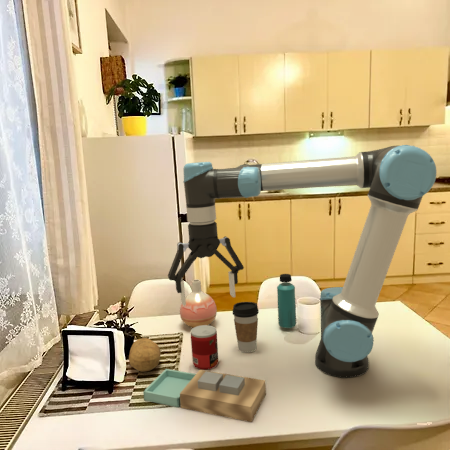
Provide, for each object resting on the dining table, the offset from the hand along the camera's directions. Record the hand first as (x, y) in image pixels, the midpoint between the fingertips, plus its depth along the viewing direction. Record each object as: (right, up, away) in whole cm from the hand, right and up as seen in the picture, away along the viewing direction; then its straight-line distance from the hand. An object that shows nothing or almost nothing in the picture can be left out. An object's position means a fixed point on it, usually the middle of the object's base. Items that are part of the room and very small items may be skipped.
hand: (208, 299), depth 112 cm
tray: (-10, -25, +2) cm, 27 cm away
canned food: (-1, -23, +15) cm, 27 cm away
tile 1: (+1, -22, -3) cm, 22 cm away
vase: (-5, -18, +43) cm, 47 cm away
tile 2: (+6, -22, -6) cm, 23 cm away
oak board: (+4, -26, -4) cm, 26 cm away
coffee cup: (+12, -20, +24) cm, 33 cm away
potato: (-20, -24, +15) cm, 34 cm away
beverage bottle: (+27, -17, +37) cm, 48 cm away
